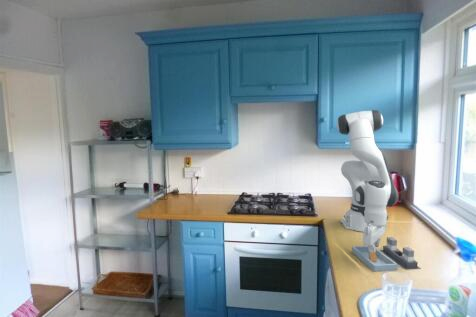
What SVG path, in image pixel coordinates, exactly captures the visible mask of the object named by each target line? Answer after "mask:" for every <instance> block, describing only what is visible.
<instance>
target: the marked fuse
mask: <svg viewBox="0 0 476 317" xmlns="http://www.w3.org/2000/svg"><path fill="white" fill-rule="evenodd" d="M373 248H374V251H373V252H372V253H371V252H369V251H368V252H369V259H370V261H372V262H377V260H376V249H377V247H375V245H373ZM368 249H369V248H368Z"/></svg>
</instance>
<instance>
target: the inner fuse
mask: <svg viewBox="0 0 476 317" xmlns="http://www.w3.org/2000/svg"><path fill="white" fill-rule="evenodd" d="M397 245H398V239H396V238H394V237H393V236H390V237H386V246H387V248H389V249H390V250H396V249H398V248H397V247H398V246H397Z"/></svg>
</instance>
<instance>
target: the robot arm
mask: <svg viewBox="0 0 476 317" xmlns="http://www.w3.org/2000/svg"><path fill="white" fill-rule="evenodd" d="M383 125H384V117H383V115H382V113H381V111H379V110H377V109H371V110H362V111H356V112H355V111H354V112H352V113H347V114H345V113H344V114H342V115H340V116H338V118H337V120H336V128H337V130H338V132H339V133H340V134H341V135H346V136H347V135H349V147H350V148H349V149H350V151H351V154H352V155H353V156H354V157H355V158H356V159H357V160H353V159H352V160H346V161H344V162H343V163H342V165H341V167H340V172H341V175H342V176H343V177H344V178H345V179H346V180H347V181H348V183H349V185H350V187H351V193H352V194H351V195H352V196H351V197H352V198H351V199H352V202H351V203H350V209H348V210H347V211H346V212H344V215H343V218H342V219H340V223H341V224H342V223H343V224H342V226H344V228H345V229H347V230H352V231H357V232H362V233H363V234H362V245H363V246H368V248H369V249H368V251H369V252H371V253H372V252H373V251H374V248H373V245H375V248H379V247H380V242H381V237H383V236H384V235H385V233H386V231H387V225H388V224H387V223H388V220H389V214H388V211H387V208H392V207H394V206H395V204H397V203H398V201H399V197H400V196H399V192H398V189H397V187H396V186H395V182H394V181H393V180H394V179H393V177H392V174H391V171H390V168H389V164H388V162H387V159H386V156H385V153H384V152H383V151H381V150H380V149H379V148H378V146H377V145H376V142H375V135H374V132H376V131H379V130H381V129H382V127H383ZM365 182H367V183H365ZM344 219H345V220H344Z"/></svg>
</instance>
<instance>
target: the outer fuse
mask: <svg viewBox="0 0 476 317" xmlns="http://www.w3.org/2000/svg"><path fill="white" fill-rule="evenodd" d="M402 252H403V253H402V258H403V259H404V260H406V261H407V262H413V260H415V259H414V258H415V250H413V249H412V248H410V247H409V246H408V247H407V246H406V247H405V246H403V247H402Z"/></svg>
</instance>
